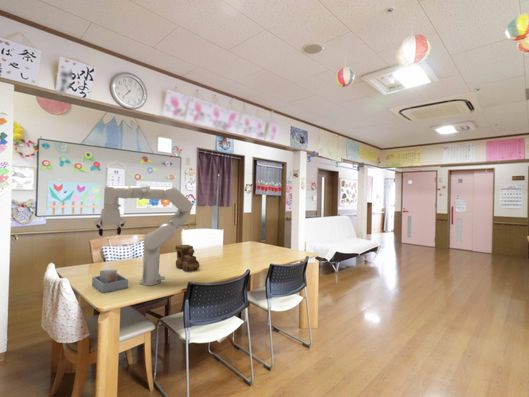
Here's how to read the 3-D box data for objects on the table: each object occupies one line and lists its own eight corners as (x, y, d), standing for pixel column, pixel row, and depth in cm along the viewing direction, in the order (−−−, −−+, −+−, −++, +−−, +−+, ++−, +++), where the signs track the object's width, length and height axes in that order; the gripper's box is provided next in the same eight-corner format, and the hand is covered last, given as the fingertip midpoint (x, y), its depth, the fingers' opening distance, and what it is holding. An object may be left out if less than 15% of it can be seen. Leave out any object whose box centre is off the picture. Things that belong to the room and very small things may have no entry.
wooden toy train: (173, 267, 212) (174, 245, 212) (186, 264, 220) (187, 244, 220) (187, 273, 198) (188, 249, 198) (200, 270, 206) (201, 248, 206)
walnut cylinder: (116, 285, 163) (115, 273, 163) (118, 287, 160) (118, 275, 159) (106, 287, 160) (106, 275, 160) (108, 289, 156) (108, 277, 156)
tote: (92, 285, 164) (92, 277, 164) (116, 280, 174) (116, 272, 174) (102, 293, 152) (102, 284, 152) (127, 288, 162) (128, 279, 162)
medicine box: (116, 283, 167) (117, 269, 167) (112, 285, 163) (113, 271, 163) (103, 283, 167) (103, 268, 167) (99, 285, 163) (99, 270, 162)
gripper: (123, 206, 174) (122, 233, 174) (92, 206, 161) (91, 235, 161) (128, 206, 169) (127, 234, 169) (96, 206, 156) (95, 237, 156)
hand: (109, 235), depth 165 cm, fingers open, 9 cm apart
